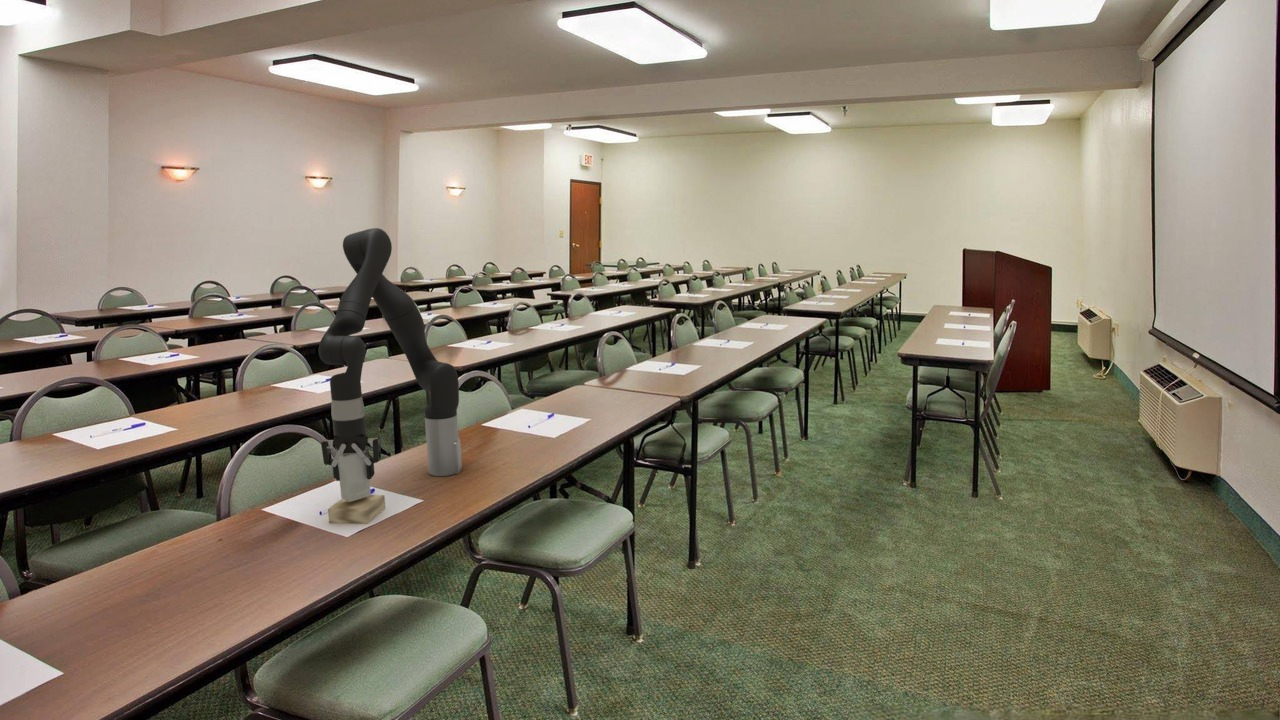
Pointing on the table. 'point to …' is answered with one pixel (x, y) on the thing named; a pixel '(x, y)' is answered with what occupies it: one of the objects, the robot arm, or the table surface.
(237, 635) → the table surface
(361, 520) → the block
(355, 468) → the skincare box
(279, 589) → the table surface
